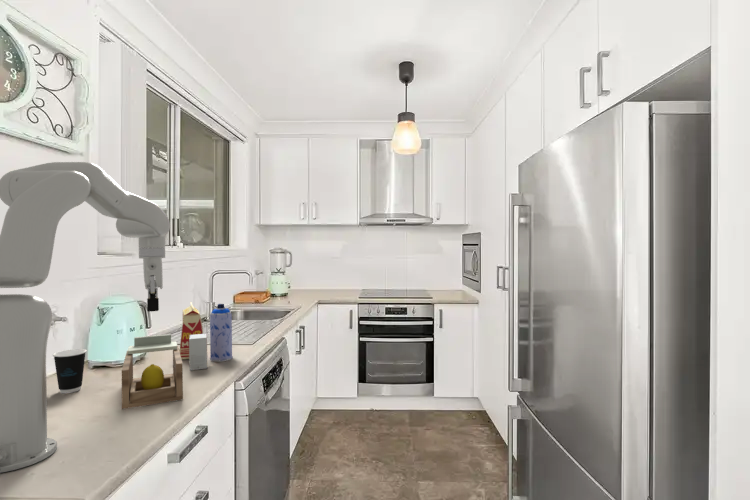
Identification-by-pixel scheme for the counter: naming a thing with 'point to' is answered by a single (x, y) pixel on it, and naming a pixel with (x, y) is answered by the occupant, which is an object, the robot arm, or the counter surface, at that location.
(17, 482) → the counter surface
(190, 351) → the small box
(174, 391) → the walnut box
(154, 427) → the counter surface
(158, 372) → the lemon
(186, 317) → the milk carton
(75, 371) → the dixie cup
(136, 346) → the lid
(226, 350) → the aerosol can
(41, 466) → the counter surface
